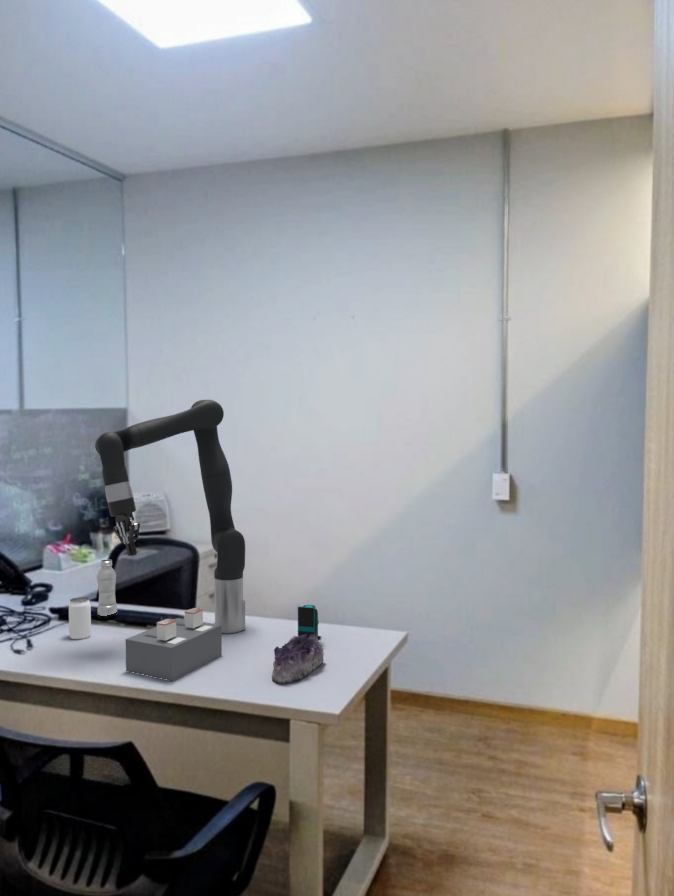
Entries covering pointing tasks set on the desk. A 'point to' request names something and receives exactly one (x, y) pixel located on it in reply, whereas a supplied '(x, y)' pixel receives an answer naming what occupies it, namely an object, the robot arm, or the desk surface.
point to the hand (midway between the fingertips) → (132, 555)
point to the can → (79, 618)
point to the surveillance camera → (308, 621)
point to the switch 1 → (166, 629)
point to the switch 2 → (193, 617)
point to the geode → (296, 659)
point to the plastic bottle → (106, 589)
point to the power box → (173, 650)
